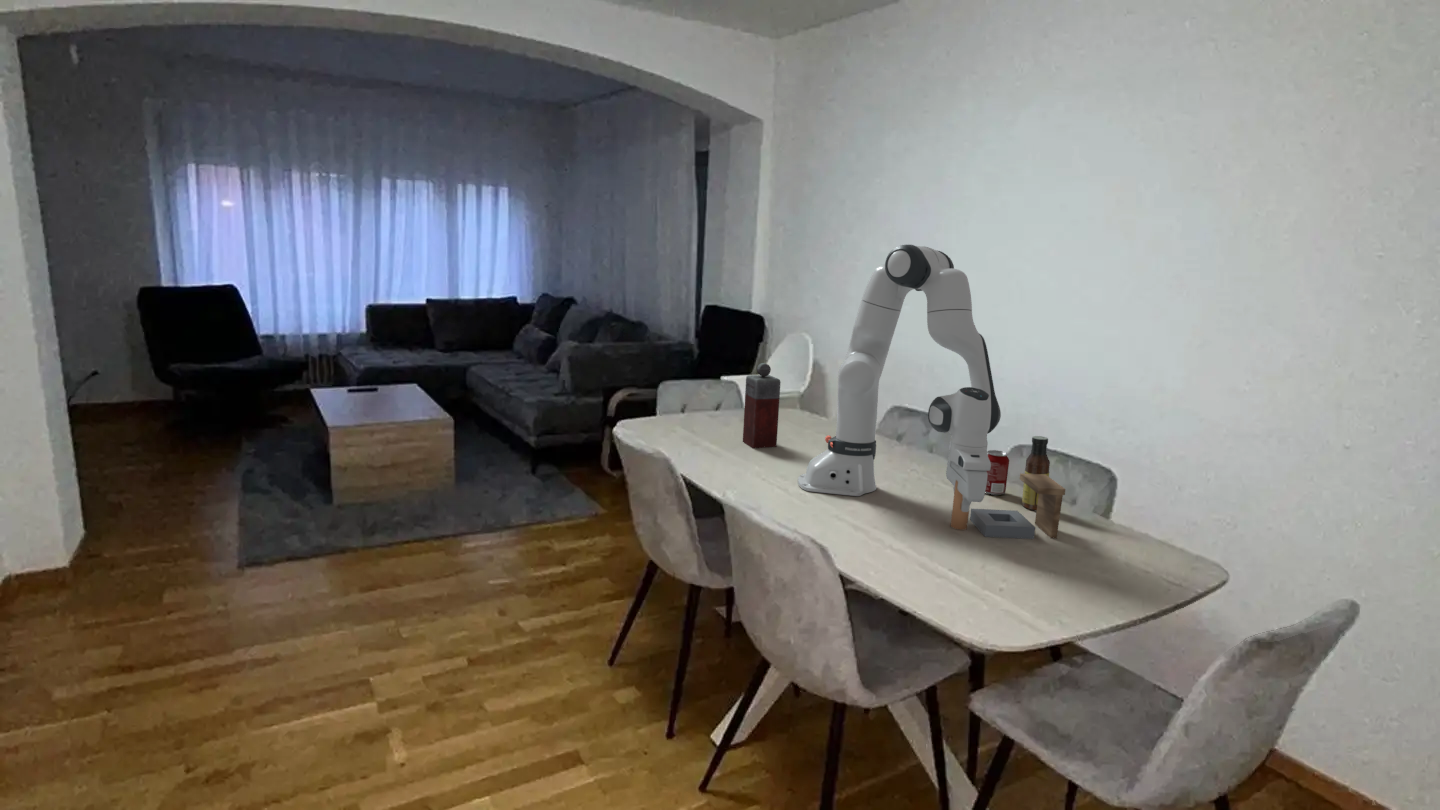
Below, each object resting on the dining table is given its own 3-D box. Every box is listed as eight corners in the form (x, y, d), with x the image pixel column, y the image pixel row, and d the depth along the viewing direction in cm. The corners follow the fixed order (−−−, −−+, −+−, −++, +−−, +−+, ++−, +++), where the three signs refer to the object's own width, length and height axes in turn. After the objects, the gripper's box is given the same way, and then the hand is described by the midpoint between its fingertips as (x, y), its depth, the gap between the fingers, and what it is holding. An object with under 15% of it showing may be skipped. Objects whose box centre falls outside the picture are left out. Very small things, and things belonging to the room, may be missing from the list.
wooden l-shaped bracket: (1031, 538, 193) (1038, 488, 190) (1014, 521, 204) (1020, 473, 202) (1058, 540, 193) (1065, 489, 190) (1039, 522, 205) (1045, 474, 202)
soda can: (1006, 497, 224) (1011, 456, 222) (981, 495, 225) (986, 454, 223) (1003, 490, 231) (1008, 450, 228) (979, 488, 232) (983, 448, 229)
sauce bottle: (1044, 506, 218) (1054, 436, 214) (1046, 513, 212) (1056, 441, 208) (1019, 502, 220) (1028, 433, 216) (1020, 509, 214) (1029, 438, 210)
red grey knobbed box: (763, 438, 277) (767, 360, 272) (776, 447, 267) (781, 365, 261) (739, 440, 274) (743, 360, 268) (752, 448, 264) (757, 365, 258)
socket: (984, 536, 193) (986, 525, 192) (969, 519, 204) (971, 508, 204) (1033, 538, 193) (1035, 527, 192) (1015, 521, 205) (1017, 510, 204)
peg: (953, 529, 197) (958, 483, 194) (948, 523, 200) (953, 478, 198) (969, 530, 197) (974, 484, 194) (964, 524, 200) (969, 479, 198)
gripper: (943, 442, 205) (937, 493, 208) (966, 465, 185) (960, 520, 188) (967, 443, 205) (961, 494, 208) (993, 466, 185) (986, 522, 188)
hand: (961, 507), depth 197 cm, fingers closed on peg, 4 cm apart
